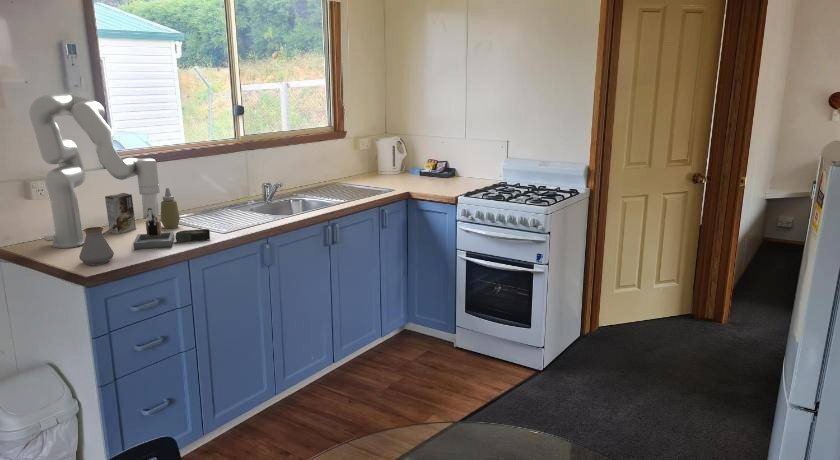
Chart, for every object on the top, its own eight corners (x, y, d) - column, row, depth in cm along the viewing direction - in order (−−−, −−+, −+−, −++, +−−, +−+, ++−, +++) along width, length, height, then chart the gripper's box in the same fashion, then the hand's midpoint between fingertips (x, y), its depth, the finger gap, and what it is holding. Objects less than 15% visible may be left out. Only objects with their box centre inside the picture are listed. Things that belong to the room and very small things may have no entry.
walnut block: (147, 237, 250) (145, 222, 248) (148, 234, 254) (147, 219, 253) (160, 236, 251) (158, 222, 250) (161, 233, 256) (160, 219, 254)
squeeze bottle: (160, 226, 283) (156, 187, 278) (179, 224, 286) (175, 186, 282) (162, 230, 276) (158, 190, 271) (181, 228, 279) (178, 189, 275)
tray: (134, 250, 245) (133, 243, 245) (138, 241, 258) (137, 234, 258) (171, 247, 249) (171, 240, 249) (174, 238, 262) (173, 231, 262)
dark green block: (208, 227, 262) (171, 231, 255) (210, 229, 260) (172, 232, 252) (209, 239, 263) (172, 242, 256) (210, 240, 261) (173, 244, 254)
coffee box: (127, 227, 280) (123, 192, 276) (136, 229, 277) (132, 194, 272) (108, 231, 272) (104, 196, 268) (117, 234, 269) (113, 197, 265)
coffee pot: (90, 269, 223) (85, 228, 219) (74, 263, 229) (68, 224, 225) (145, 255, 240) (141, 217, 236) (128, 249, 246) (124, 213, 242)
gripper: (141, 186, 255) (146, 228, 259) (136, 194, 239) (141, 239, 244) (161, 185, 257) (166, 227, 262) (157, 193, 241) (162, 238, 246)
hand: (154, 232), depth 253 cm, fingers closed on walnut block, 5 cm apart
